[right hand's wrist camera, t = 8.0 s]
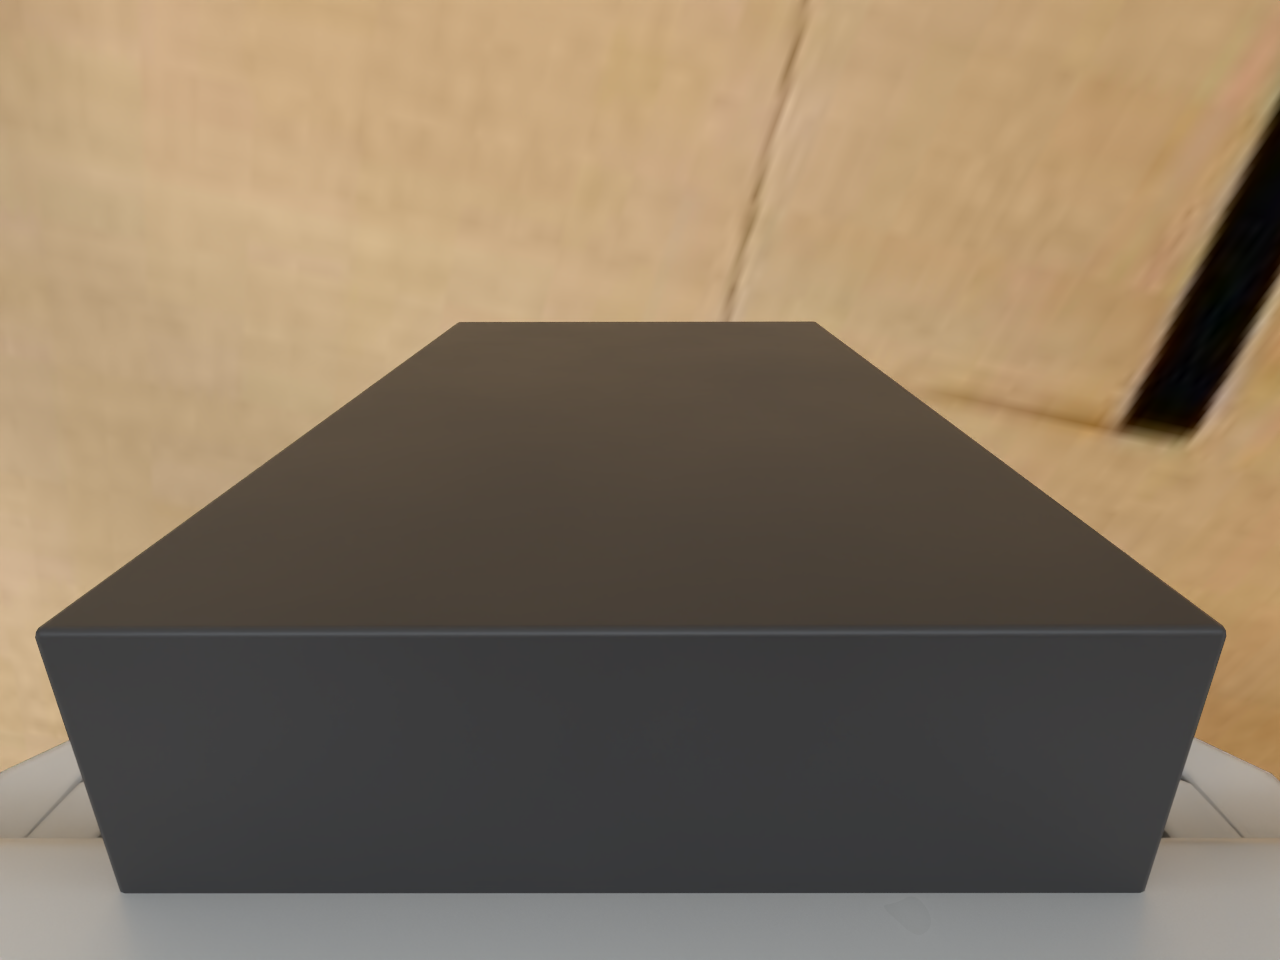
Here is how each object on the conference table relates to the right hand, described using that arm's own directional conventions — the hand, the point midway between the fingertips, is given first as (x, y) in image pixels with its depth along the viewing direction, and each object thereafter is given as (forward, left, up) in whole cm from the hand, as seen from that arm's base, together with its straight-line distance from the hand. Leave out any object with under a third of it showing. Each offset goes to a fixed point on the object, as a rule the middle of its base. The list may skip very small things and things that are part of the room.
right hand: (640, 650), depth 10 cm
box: (+2, +9, -5) cm, 10 cm away
